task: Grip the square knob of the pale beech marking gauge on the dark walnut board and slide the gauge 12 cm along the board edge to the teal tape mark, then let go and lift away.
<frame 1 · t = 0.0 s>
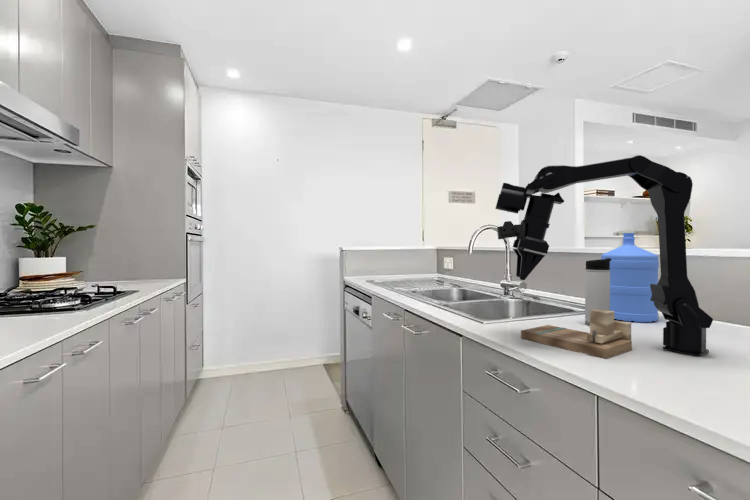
hand: (520, 278, 90), 15 cm above the countertop, tool pointing down, fingers open, 9 cm apart
travel mug: (597, 325, 107), on the countertop
water jug: (628, 318, 117), on the countertop
walnut board: (573, 343, 86), on the countertop
beech gauge: (607, 327, 82), point 5 cm above the countertop, slide at 0.0 cm
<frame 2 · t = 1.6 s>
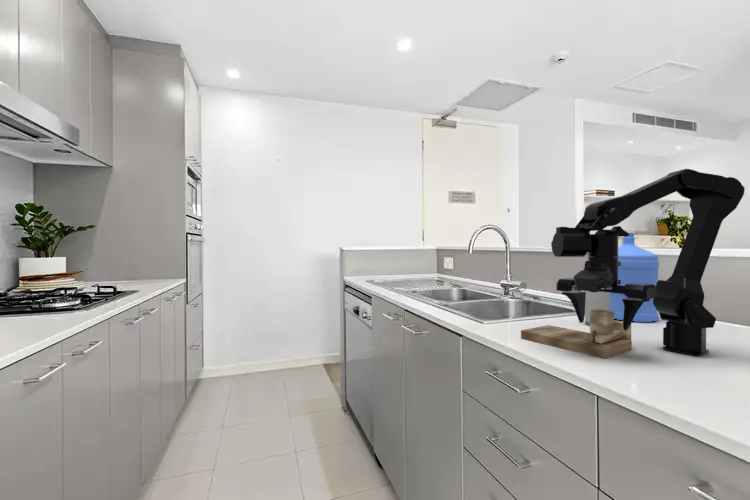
hand: (602, 326, 81), 6 cm above the countertop, tool pointing down, fingers open, 9 cm apart
nothing on the countertop moved.
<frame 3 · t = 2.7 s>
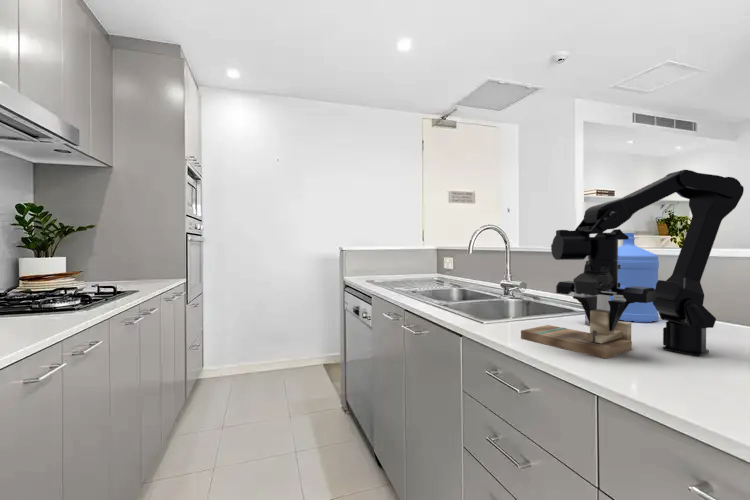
hand: (602, 329, 81), 5 cm above the countertop, tool pointing down, fingers closed on beech gauge, 3 cm apart
beech gauge: (607, 327, 82), point 5 cm above the countertop, slide at 0.0 cm, touching gripper
everything else where it was.
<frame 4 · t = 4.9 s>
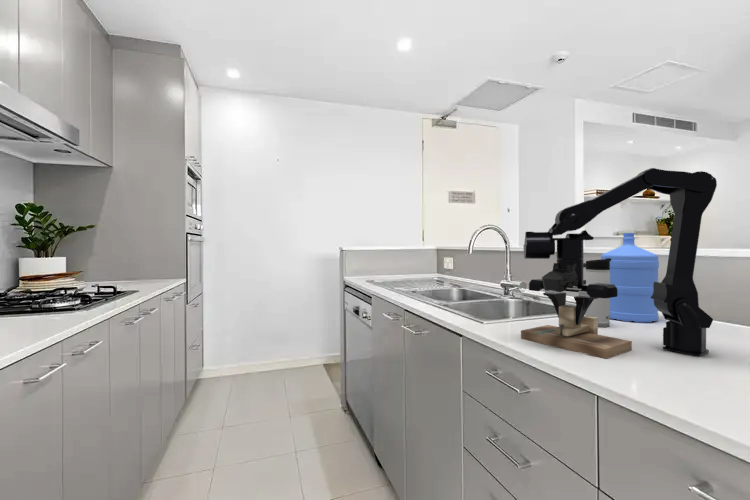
hand: (569, 323, 87), 5 cm above the countertop, tool pointing down, fingers closed on beech gauge, 3 cm apart
beech gauge: (574, 322, 88), point 5 cm above the countertop, slide at 7.3 cm, touching gripper
everything else where it was.
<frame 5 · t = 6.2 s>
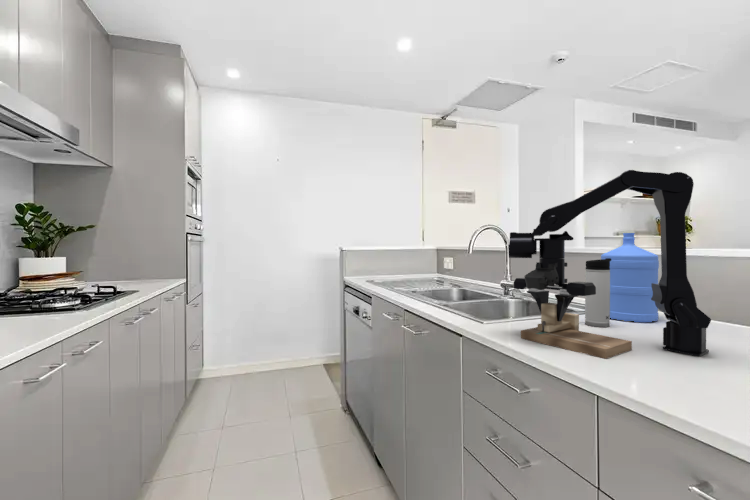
hand: (551, 319, 91), 5 cm above the countertop, tool pointing down, fingers closed on beech gauge, 3 cm apart
beech gauge: (556, 319, 92), point 5 cm above the countertop, slide at 11.9 cm, touching gripper
everything else where it was.
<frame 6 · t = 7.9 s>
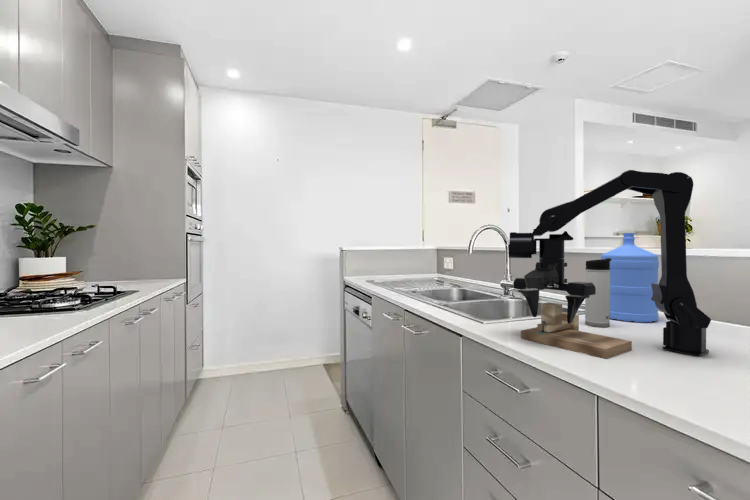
hand: (551, 319, 91), 5 cm above the countertop, tool pointing down, fingers open, 9 cm apart
beech gauge: (556, 319, 92), point 5 cm above the countertop, slide at 11.9 cm
everything else where it was.
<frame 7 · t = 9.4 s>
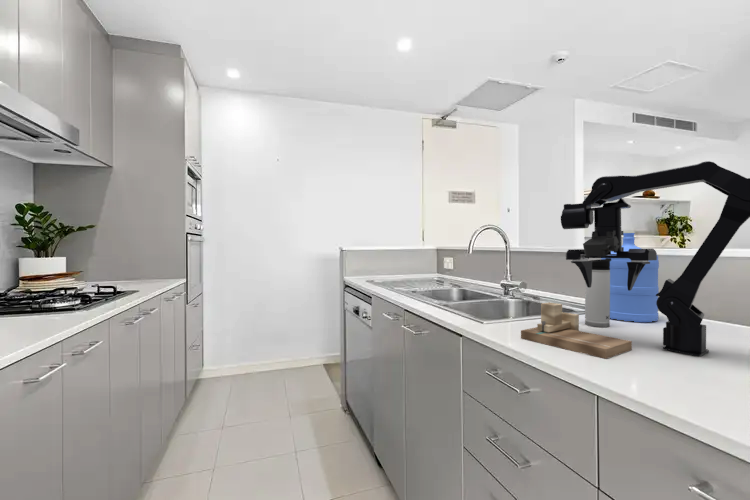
hand: (608, 288, 90), 13 cm above the countertop, tool pointing down, fingers open, 9 cm apart
nothing on the countertop moved.
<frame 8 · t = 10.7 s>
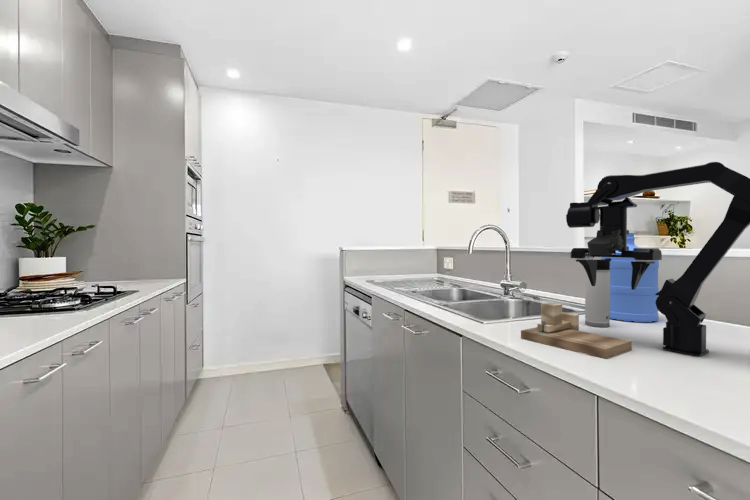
hand: (612, 287, 90), 13 cm above the countertop, tool pointing down, fingers open, 9 cm apart
nothing on the countertop moved.
at the end: beech gauge slide at 11.9 cm; the gripper is holding nothing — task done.
